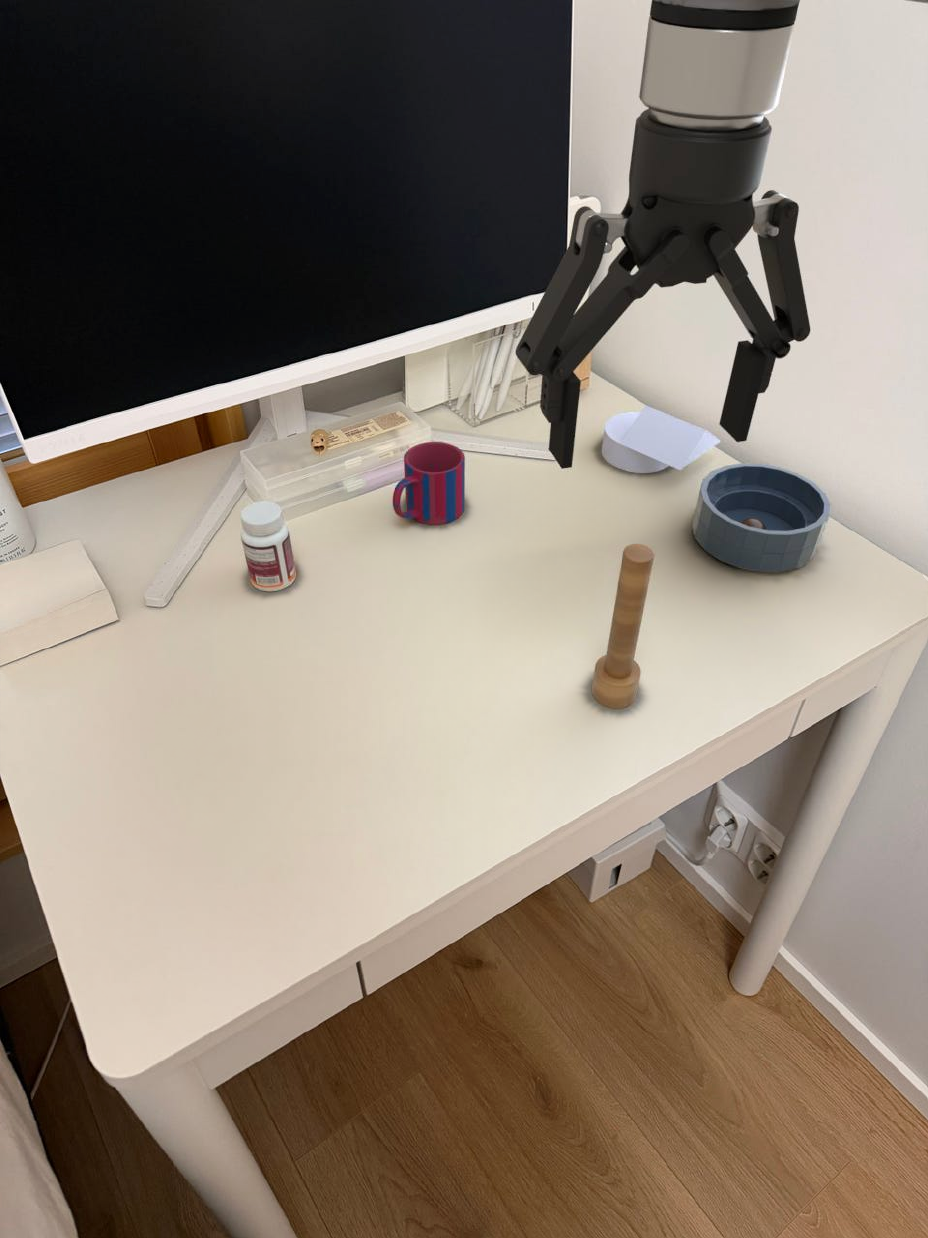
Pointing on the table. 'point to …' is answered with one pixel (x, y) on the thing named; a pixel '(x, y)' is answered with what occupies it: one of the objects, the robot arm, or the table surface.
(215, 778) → the table surface
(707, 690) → the table surface
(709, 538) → the bowl
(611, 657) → the muddler
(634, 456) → the wedge on round base
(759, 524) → the bead
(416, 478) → the mug
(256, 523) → the pill bottle
